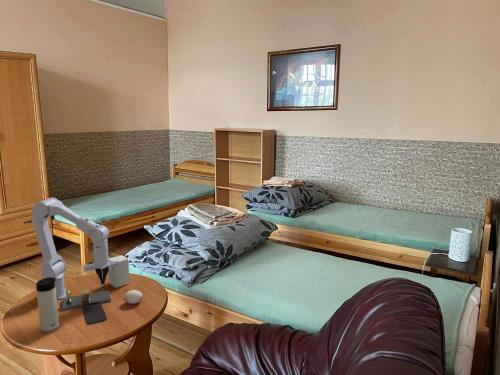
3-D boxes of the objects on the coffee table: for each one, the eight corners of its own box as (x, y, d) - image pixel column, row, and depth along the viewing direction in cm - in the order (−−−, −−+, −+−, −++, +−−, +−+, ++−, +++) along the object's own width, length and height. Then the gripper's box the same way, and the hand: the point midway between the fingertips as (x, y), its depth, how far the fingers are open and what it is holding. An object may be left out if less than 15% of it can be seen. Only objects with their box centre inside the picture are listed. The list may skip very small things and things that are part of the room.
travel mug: (58, 331, 142) (53, 282, 138) (38, 334, 140) (33, 284, 136) (61, 323, 148) (57, 275, 144) (42, 325, 146) (37, 277, 142)
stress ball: (142, 306, 168) (142, 291, 170) (142, 304, 160) (142, 288, 163) (124, 308, 166) (125, 292, 168) (123, 305, 159) (124, 289, 161)
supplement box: (123, 278, 188) (122, 254, 185) (130, 283, 182) (128, 259, 180) (108, 283, 183) (107, 258, 180) (115, 288, 177) (113, 263, 175)
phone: (100, 303, 163) (107, 319, 150) (100, 304, 163) (107, 321, 150) (82, 307, 159) (87, 324, 147) (82, 309, 159) (87, 326, 147)
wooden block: (81, 296, 166) (80, 289, 165) (88, 295, 167) (88, 288, 166) (81, 301, 161) (81, 294, 161) (89, 300, 162) (88, 293, 162)
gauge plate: (62, 301, 165) (61, 287, 164) (108, 292, 173) (108, 279, 172) (62, 310, 157) (61, 296, 156) (111, 301, 165) (110, 287, 164)
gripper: (83, 260, 157) (85, 290, 160) (119, 255, 163) (121, 284, 166) (82, 254, 163) (84, 283, 166) (117, 249, 169) (119, 278, 172)
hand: (102, 283), depth 166 cm, fingers closed
